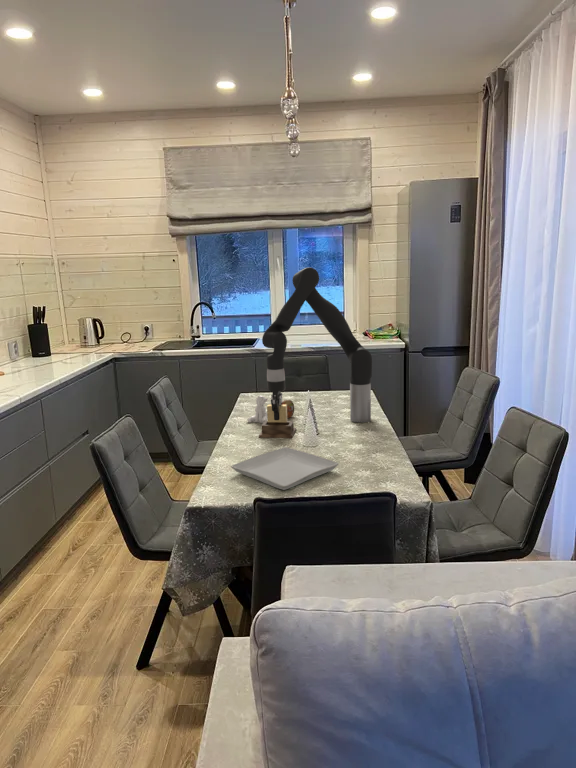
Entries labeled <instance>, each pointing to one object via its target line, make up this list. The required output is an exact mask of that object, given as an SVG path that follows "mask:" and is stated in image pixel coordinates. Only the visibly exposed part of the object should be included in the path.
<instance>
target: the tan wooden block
mask: <svg viewBox="0 0 576 768" xmlns="http://www.w3.org/2000/svg"><path fill="white" fill-rule="evenodd" d="M275 408H276V407H275ZM266 412H267V421H268V422H287V421H288V419H287V405H280V406H279V420H274V412H273V411H272V406H271V403H270V404H269V403H268V404H267V406H266Z"/></svg>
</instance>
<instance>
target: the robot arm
mask: <svg viewBox="0 0 576 768" xmlns="http://www.w3.org/2000/svg"><path fill="white" fill-rule="evenodd" d="M319 282H320V275H319V272H318V271H317V269H315V268H313V267H310V266H309V267H305V268H303V269H301V270H300V271H298V272H296V273H294V275H293V277H292V285H293V287H294V289H295V290H294V292H293V293H292V295H291V296H290V297H289V298H288V300H287V301H286V302H285V303H284V305H283V306H282V307H281V309H280V310H279V313H278V315H277V317H276V318H275V320H274V321H273V322H272V323H271V324H270V326H268V327H267V329H266V330H265V331H264V332H263V335H262V339H261V340H262V345H263V346H264V348H267V349H273V352H272V353H270V354H268V355H267V356H266V385H267V388H266V389H267V391H268V392H272V395H271V396H270V397H271V398H270V404H271V406H272V411H273V412H274V420H279V406H280V405H282V401H283V393H282V392H283V391H285V390H286V374H285V373H286V372H285V365H284V364H285V363H284V360H285V359H284V358H285V354H286V351H287V345H288V339H287V336H286V334H285V332H288V331H289V330H290V329H291V327H292V325H293V323H294V322H295V321H296V320H295V319H296V318H297V316H298V314H299V313H300V310H301V308H302V307H303V305H304V303H305V302H306V303H307V304H308V306H309V307H310V309H312V311H313V312H314V313H315V314H316V316H317V318H318V319H319V320H320V322H321V324H322V325H323V326H324V327H325V330H327V332H328V333H329V334H330V336H331V337H333V339H334V340H335V341H336V342H337V343H338V345H339V346H340V347H341V349H342V351H343V352H344V353H345V355H346V357H347V359H348V361H349V363H350V365H351V367H350V368H351V370H350V371H351V373H350V377H349V396H350V397H349V399H350V400H349V401H350V403H349V406H350V407H349V408H350V410H349V412H350V413H349V415H350V417H349V418H350V421H351V422H355V423H368V422H370V423H371V422H372V397H371V395H372V389H371V388H372V387H371V386H372V385H371V384H372V383H371V382H372V375H373V357H372V354H371V352H370V350H367V349H366V348H365V347H364V346H363V345H362V344H361V343H360V342H359V340H358V339H356V337H355V335H354V334H353V332H352V329H351V328H350V326H349V323H348V322H347V320H346V318H345V317H344V315H343V314H342V313H341V311H340V310H339V308H338V307H337V306H336V305H334V304H333V303H332V302H330V301H329V300H327V299H326V298H324V297H323V296H322V295H321V294H320V292H318V290H317V288H316V287H317V286H318V284H319ZM275 407H276V408H275Z"/></svg>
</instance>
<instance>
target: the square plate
mask: <svg viewBox="0 0 576 768" xmlns="http://www.w3.org/2000/svg"><path fill="white" fill-rule="evenodd" d="M339 464H340V463H339V462H338V461H333V460H331V459H328V458H325V457H322V456H319V455H316V454H313V453H309V452H305V451H302V450H297V449H294V448H291V447H287V446H284V447H280V448H278V449H274V450H271V451H267V452H265V453H261V454H258V455H256V456H253V457H250V458H247V459H245V460H242V461H241V462H237V463H235V464H232V465H231V466H230V469H231V468H232V469H233V470H234V471H235V472H237V473H238V474H242V475H244V476H246V477H249V478H251V479H253V480H257V481H259V482H262V483H264V484H267V485H269V486H271V487H274V488H277V489H280V490H283V491H285V490H288V489H289V490H290V489H291V488H293V487H295V486H298V485H300V484H302V483H305V482H307V481H309V480H311V479H315V478H317V477H319V476H321V475H323V474H326V473H329V472H331V471H333V470H334V469H335V468H338V467H337V466H339Z"/></svg>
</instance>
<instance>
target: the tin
mask: <svg viewBox="0 0 576 768" xmlns="http://www.w3.org/2000/svg"><path fill="white" fill-rule="evenodd" d="M282 405H287V418H288V419H290V418H291V417H292V416H294V413H295V404H294V401H292V400H291V399H288V400H287V399H286V400H285V399H284V400H282Z"/></svg>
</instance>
